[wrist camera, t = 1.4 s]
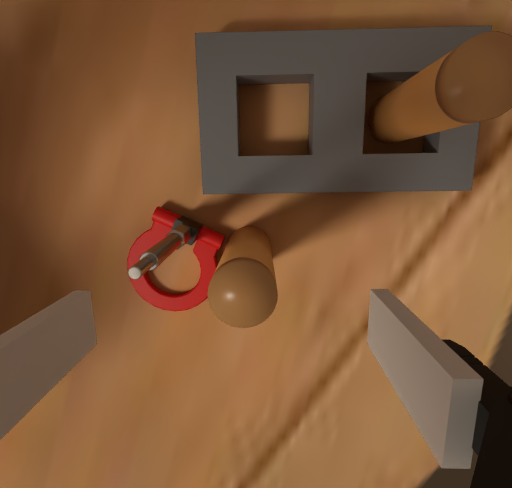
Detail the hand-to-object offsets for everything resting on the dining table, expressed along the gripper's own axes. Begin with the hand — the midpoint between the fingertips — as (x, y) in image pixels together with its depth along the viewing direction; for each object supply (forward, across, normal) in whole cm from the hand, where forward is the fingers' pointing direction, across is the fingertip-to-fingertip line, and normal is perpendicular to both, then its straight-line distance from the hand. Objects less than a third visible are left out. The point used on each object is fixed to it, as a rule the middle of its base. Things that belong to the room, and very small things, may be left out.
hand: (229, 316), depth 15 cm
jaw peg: (+15, 0, 0) cm, 15 cm away
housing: (+16, +8, +11) cm, 20 cm away
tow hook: (+16, -7, -2) cm, 17 cm away
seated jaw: (+16, +12, +11) cm, 23 cm away
